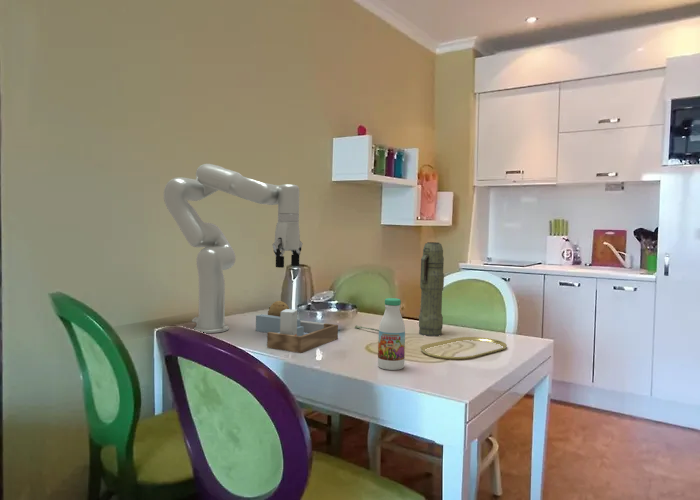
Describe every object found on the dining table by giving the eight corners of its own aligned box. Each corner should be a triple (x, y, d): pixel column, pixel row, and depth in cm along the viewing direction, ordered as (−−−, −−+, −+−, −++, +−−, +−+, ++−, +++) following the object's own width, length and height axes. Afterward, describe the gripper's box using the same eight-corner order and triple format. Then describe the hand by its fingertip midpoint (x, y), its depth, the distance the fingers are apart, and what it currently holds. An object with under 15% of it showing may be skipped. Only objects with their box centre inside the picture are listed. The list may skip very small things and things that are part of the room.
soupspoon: (390, 342, 189) (402, 340, 193) (391, 333, 189) (403, 331, 193) (350, 329, 205) (362, 328, 209) (350, 321, 205) (362, 320, 209)
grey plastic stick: (296, 332, 199) (296, 321, 198) (300, 330, 201) (300, 320, 201) (324, 335, 194) (324, 324, 193) (328, 334, 196) (328, 323, 196)
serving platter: (517, 348, 181) (517, 344, 181) (455, 365, 157) (455, 359, 157) (471, 338, 195) (471, 334, 195) (408, 352, 171) (409, 348, 171)
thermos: (412, 334, 198) (414, 242, 196) (428, 329, 207) (431, 241, 205) (432, 338, 192) (435, 243, 190) (448, 333, 201) (451, 242, 200)
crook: (226, 338, 184) (226, 322, 183) (261, 329, 201) (261, 314, 200) (270, 346, 174) (270, 328, 174) (303, 336, 191) (303, 319, 191)
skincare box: (291, 348, 171) (292, 312, 171) (279, 347, 172) (279, 311, 172) (297, 344, 177) (297, 309, 177) (285, 343, 178) (285, 308, 178)
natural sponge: (262, 325, 207) (262, 301, 207) (276, 322, 215) (277, 298, 214) (280, 328, 202) (280, 303, 202) (294, 325, 210) (294, 300, 210)
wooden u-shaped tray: (267, 347, 172) (267, 332, 172) (306, 334, 194) (306, 321, 193) (301, 352, 166) (301, 337, 166) (337, 338, 188) (338, 324, 187)
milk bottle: (376, 363, 156) (377, 296, 155) (401, 363, 156) (403, 297, 155) (379, 370, 148) (381, 300, 147) (406, 370, 149) (408, 301, 148)
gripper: (293, 219, 197) (292, 264, 197) (265, 218, 181) (264, 267, 182) (310, 219, 193) (309, 265, 194) (283, 218, 178) (282, 268, 179)
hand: (287, 266), depth 188 cm, fingers open, 9 cm apart
